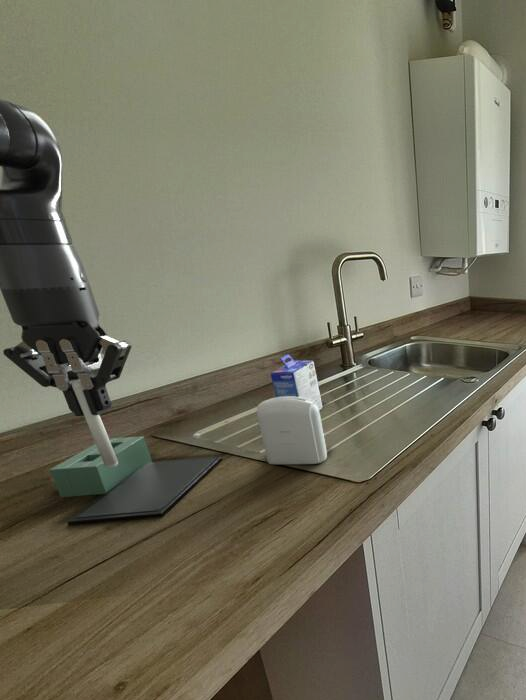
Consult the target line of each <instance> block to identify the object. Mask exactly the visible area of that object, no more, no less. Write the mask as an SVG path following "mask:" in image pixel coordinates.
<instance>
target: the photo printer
mask: <svg viewBox="0 0 526 700" xmlns="http://www.w3.org/2000/svg"><path fill="white" fill-rule="evenodd" d="M320 411H321V410H319V407H318V404H317V403H316V402H315V401H313V400H310V399H307V398H302V397H293V396H285V397H276V396H275V397H271V398H269V399H266V400H263V401H262V402H260V403H258V405H257V408H256V418H257V424H258V427H259V431H260V436H261V440H262V445H263V449H264V452H265V458H266V460H267V463H268V464H270V465H315V464H316V465H317V464H321V463H323V462H325V460H327V458H328V449H327V444H326V440H325V434H324V429H323V423H322V417H321V412H320Z"/></svg>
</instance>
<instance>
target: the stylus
mask: <svg viewBox="0 0 526 700" xmlns="http://www.w3.org/2000/svg"><path fill="white" fill-rule="evenodd" d="M72 387H73V390H74V392H75V395H76V397H77V399H78V402H79V404H80V407H81V409H82V411H83V414H84V416H83V417H84V418H85V421H86V423H87V426H88V428H89V431H90V433H91V436H92V438H93V440H94V444H96V445H97V448H98V450H99V453H100V455H101V457H102V460H103V462H104V465H105V466H106V467H107V468H114V467H116V466H117V465H118V460H117V458H116V455H115V453H114V450H113V448H112V445H111V443H110V440H109V439H110V437H109V435H108V433H107V430H106V428H105V425H104V422H103V420H102V417H101V415H92V414H91V412H90V409H89V406H88V404H87V401H86V398H85V396H84V393H83V390H85V388H83V386H82V384H81V381H80V379H78V380H75V381H73V383H72Z"/></svg>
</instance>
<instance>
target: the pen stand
mask: <svg viewBox="0 0 526 700" xmlns="http://www.w3.org/2000/svg"><path fill="white" fill-rule="evenodd" d="M109 440H110V443H111V445H112V448H113V450H114V453H115V455H116V458H117V460H118V465H117V466H116V467H114V468H107V467H106V466H105V465H104V462H103V460H102V457H101V455H100V453H99V450H98V448H97V445H96V443H94V444H93V445H91V446H89V447H87V448H85V449H84V450H82V451H80V452H78V453H77V454H75V455H73V456H71V457H69V458H68V459H66V460H64V461H62V462H61V463H59V464H57V465H55V466H53V467H52V468H49V472H50V475H51V477H52V480H53V482H54V484H55V487H56V489H57V492H58V494H59V496H60V498H70V497H71V498H72V497H82V496H94V495H95V496H96V495H97V496H98V495H104V494H106V493H107V492H109V491H110V490H111V489H113V488H114V487H115V486H117V485H118V484H120V483H121V482H122V481H124V480H125V479H126V478H128V477H129V476H131V475H132V474H133V473H135V472H136V471H137V470H139V469H140V468H142V467H143V466H144V465H146V464H147V463H149V462H153V460H152V457H151V454H150V451H149V448H148V445H147V442H146V438H145V436H144V435H143V436H130V437H127V436H126V437H113V438H109Z"/></svg>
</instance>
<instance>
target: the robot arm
mask: <svg viewBox="0 0 526 700" xmlns="http://www.w3.org/2000/svg"><path fill="white" fill-rule="evenodd" d="M0 167H1V181H0V292H1V295H2V297H3V300H4V303H5V305H6V307H7V310H8V312H9V315H10V317H11V320H12V322H13V323H14V324H15V325H16V326H20V327H21V329H22V330H21V336H20V338H21V340H22V341H21V342H19V343H18V344H17V345H15V346H12V347H8V348H7V347H6V348H5V349H3V351H2V352H3V355H4V356H5V357H6V359H9V361H10V362H12V363H13V364H15V365H16V366H17V367H18V368H19V369H21V371H23V372H24V373H25V374H26V375H28V376H29V377H30V378H32V379H33V380H34V381H35V382H37V383H38V384H39V385H40V386H42V387H44V388H48V387H52V388H56V389H58V391H61V392H62V394H63V396H64V399H65V402H66V403H67V407H68V409H69V410H70V412H71V413H73V414H74V416H76V417H85V416H84V414H83V411H82V409H81V407H80V404H79V402H78V399H77V397H76V395H75V392H74V390H73V387H72V383H73V381H75V380H78V379H80V381H81V384H82V386H83V388H85V390H83V393H84V396H85V398H86V401H87V404H88V406H89V409H90V412H91V414H92V415H100V416H101V415H104V414H105V413H107V412H109V411H110V408H111V407H112V401H111V398H110V395H109V392H108V390H107V389H108V388H107V384H108V383H110V382H112V381H115V380H118V379H119V378H120V377H121V375H122V373H123V370H124V367H125V365H126V362H127V360H128V357H129V355H130V352H131V349H132V343H131V342H130V341H129V340H122V341H119V340H118V339H114V338H113V337H110V336H108V334H107V331H106V330H105V329H104V328H103V327H102V326H101V324H100V323H99V318H100V312H99V309H98V306H97V303H96V299H95V297H94V294H93V293H94V292H93V290H92V287H91V284H90V281H89V278H88V275H87V272H86V269H85V267H84V263H83V262H82V259H81V257H80V255H79V254H78V252H77V250H76V247H75V245H74V243H73V239H72V236H71V234H70V233H71V232H70V230H69V227H68V225H67V222H66V218H65V216H64V213H63V154H62V149H61V146H60V143H59V140H58V139H57V137H56V134H55V133H54V132H53V130H52V129H51V127H50V126H49V125H48V123H47V122H46V121H45V120H44V119H43V118H42V117H41V116H40V115H39V114H37V113H36V112H34V111H33V110H31V109H29V107H26V106H23V105H21V104H18V103H15V102H12V101H8V100H4V99H1V98H0ZM102 355H104V356H103V357H102Z"/></svg>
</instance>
